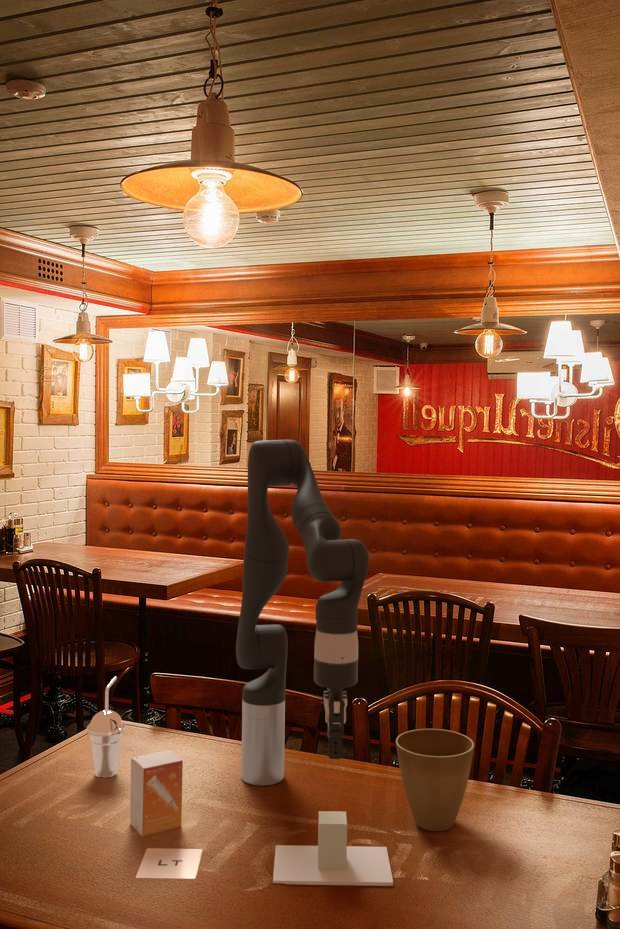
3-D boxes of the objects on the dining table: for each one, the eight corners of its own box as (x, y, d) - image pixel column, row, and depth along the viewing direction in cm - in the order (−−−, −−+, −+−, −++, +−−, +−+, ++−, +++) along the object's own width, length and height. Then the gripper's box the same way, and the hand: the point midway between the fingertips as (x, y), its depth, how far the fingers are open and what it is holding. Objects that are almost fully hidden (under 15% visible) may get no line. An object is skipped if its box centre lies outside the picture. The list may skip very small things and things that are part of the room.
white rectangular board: (275, 848, 152) (275, 845, 152) (386, 850, 152) (386, 846, 152) (272, 884, 140) (272, 880, 140) (393, 885, 140) (393, 882, 140)
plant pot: (453, 802, 172) (455, 725, 172) (485, 837, 158) (487, 752, 157) (383, 809, 169) (385, 730, 168) (410, 845, 154) (411, 759, 154)
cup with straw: (77, 775, 183) (77, 684, 182) (109, 762, 190) (109, 674, 190) (104, 785, 178) (104, 691, 177) (135, 771, 185) (136, 681, 185)
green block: (317, 855, 149) (318, 811, 148) (345, 856, 149) (345, 811, 148) (318, 869, 144) (318, 823, 144) (346, 870, 144) (347, 824, 144)
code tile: (146, 849, 151) (146, 848, 151) (202, 850, 151) (202, 849, 151) (135, 878, 141) (135, 877, 141) (195, 879, 141) (195, 878, 141)
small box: (142, 838, 155) (142, 768, 155) (129, 824, 161) (129, 757, 160) (182, 827, 160) (183, 759, 159) (168, 814, 165) (169, 748, 165)
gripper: (360, 667, 138) (358, 765, 138) (355, 645, 152) (353, 733, 153) (314, 667, 138) (312, 764, 138) (313, 644, 152) (312, 733, 153)
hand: (334, 748), depth 146 cm, fingers open, 8 cm apart
